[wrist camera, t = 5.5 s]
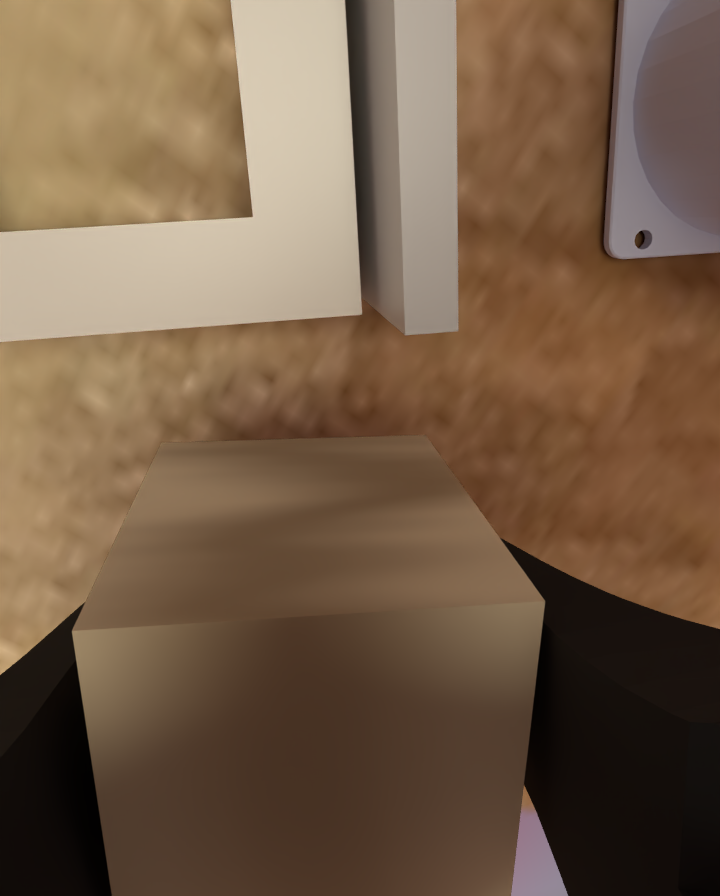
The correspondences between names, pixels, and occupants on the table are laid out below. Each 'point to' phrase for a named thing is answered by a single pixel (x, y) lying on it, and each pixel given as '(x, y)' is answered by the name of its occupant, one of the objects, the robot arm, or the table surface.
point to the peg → (308, 676)
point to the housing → (287, 192)
